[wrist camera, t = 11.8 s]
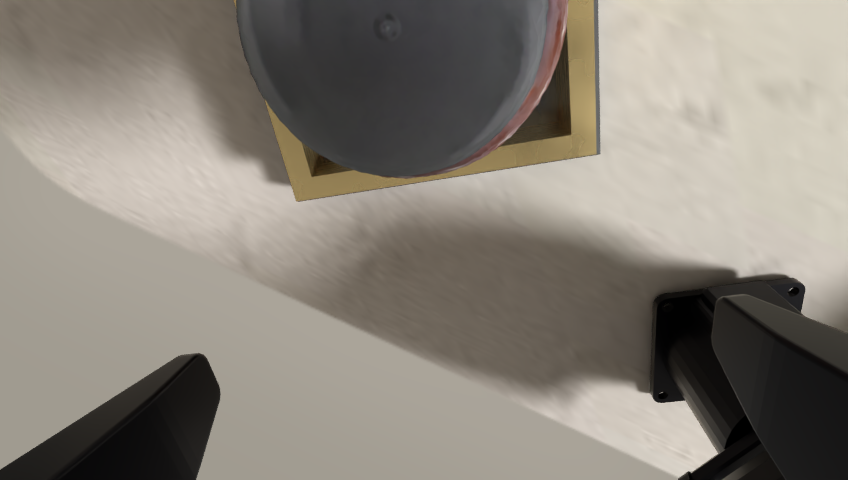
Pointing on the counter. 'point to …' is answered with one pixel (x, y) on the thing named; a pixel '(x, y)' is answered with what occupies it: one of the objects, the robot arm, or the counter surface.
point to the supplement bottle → (402, 75)
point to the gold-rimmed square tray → (531, 144)
